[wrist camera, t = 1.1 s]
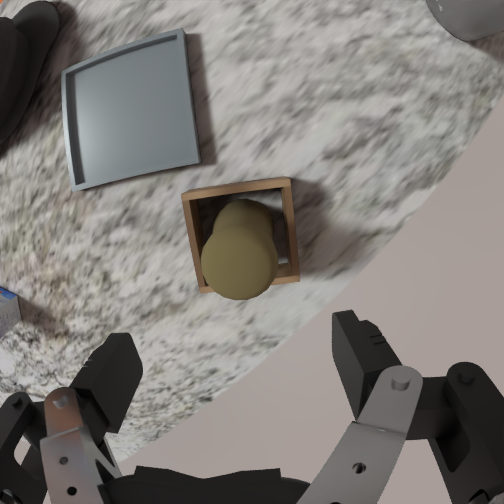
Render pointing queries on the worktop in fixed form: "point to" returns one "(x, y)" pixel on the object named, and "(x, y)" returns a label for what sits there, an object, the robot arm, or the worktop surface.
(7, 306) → the medicine box
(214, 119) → the worktop surface
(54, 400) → the robot arm
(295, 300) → the worktop surface
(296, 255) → the holder
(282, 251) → the worktop surface
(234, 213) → the cork
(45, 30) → the casserole
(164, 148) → the tray
